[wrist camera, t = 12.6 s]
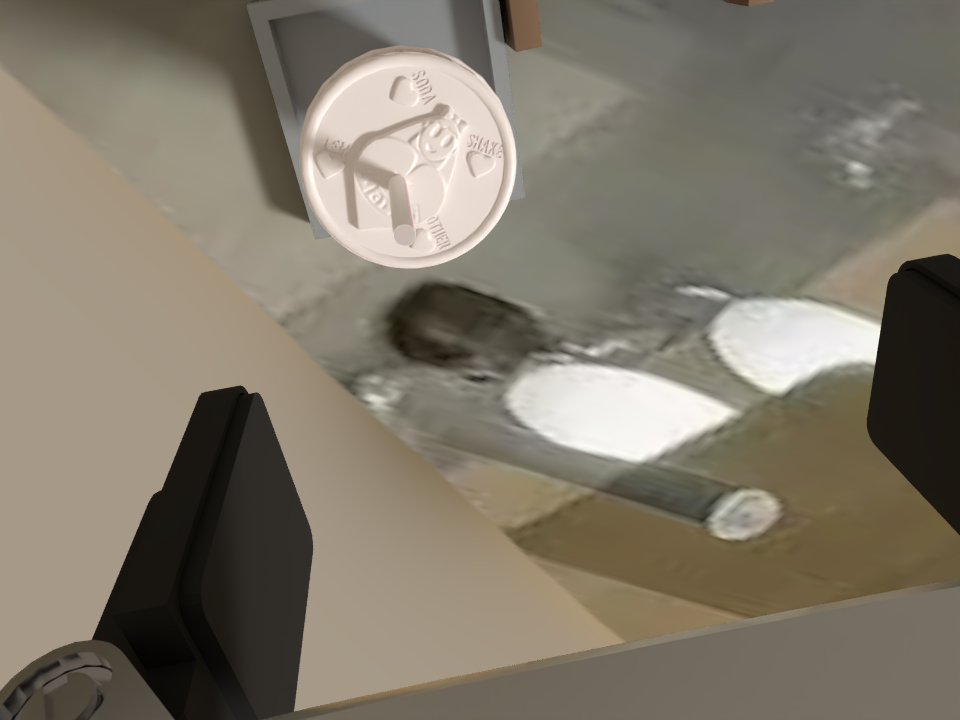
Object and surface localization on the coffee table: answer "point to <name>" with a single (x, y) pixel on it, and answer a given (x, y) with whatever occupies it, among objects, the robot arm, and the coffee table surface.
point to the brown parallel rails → (526, 26)
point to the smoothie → (407, 157)
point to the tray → (359, 29)
